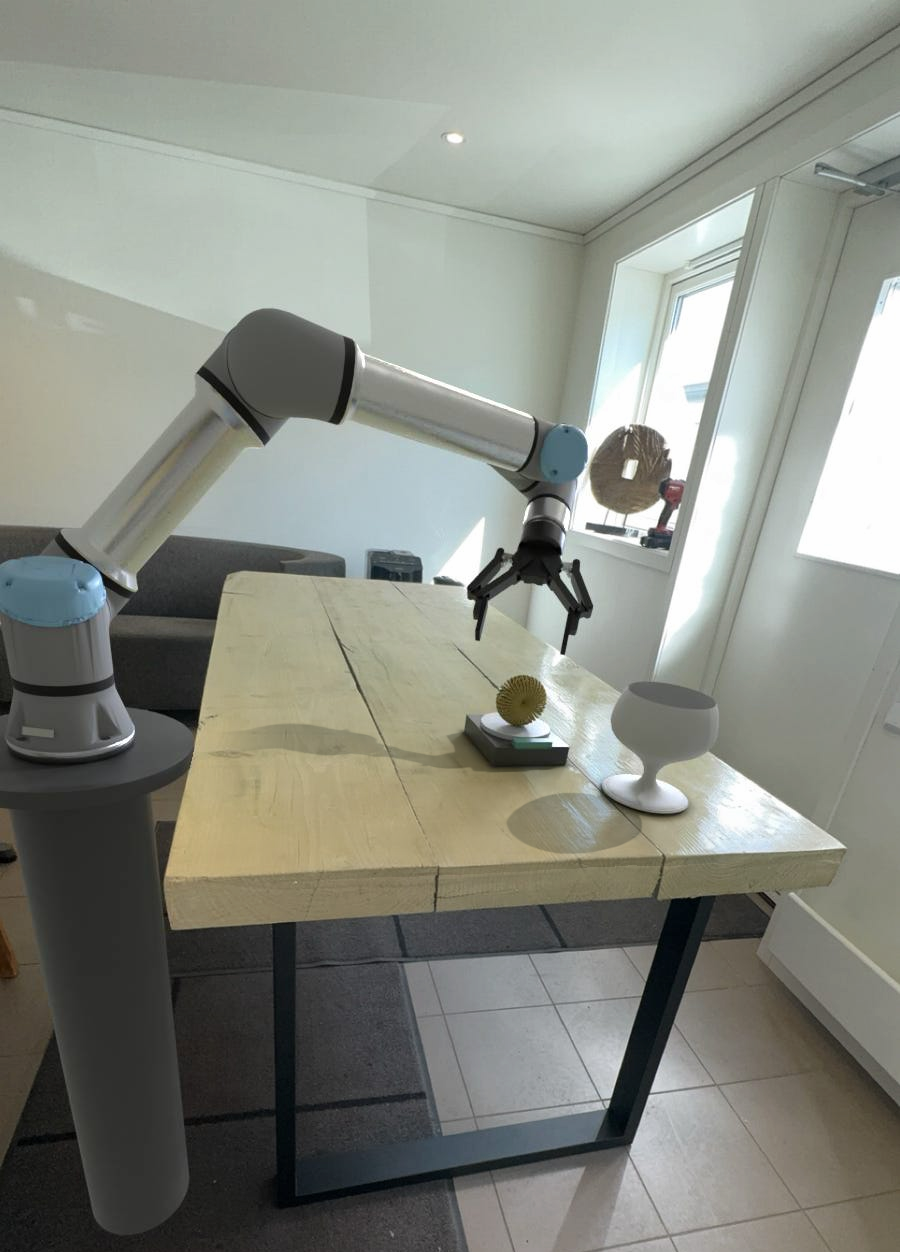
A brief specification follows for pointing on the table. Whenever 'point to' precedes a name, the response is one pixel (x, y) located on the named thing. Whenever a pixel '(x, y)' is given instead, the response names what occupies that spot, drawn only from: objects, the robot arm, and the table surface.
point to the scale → (515, 741)
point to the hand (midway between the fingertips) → (520, 643)
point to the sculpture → (521, 700)
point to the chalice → (660, 740)
